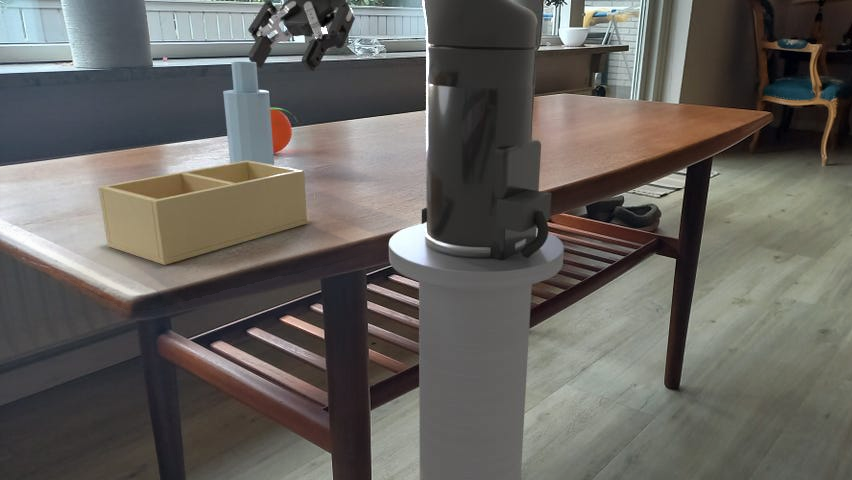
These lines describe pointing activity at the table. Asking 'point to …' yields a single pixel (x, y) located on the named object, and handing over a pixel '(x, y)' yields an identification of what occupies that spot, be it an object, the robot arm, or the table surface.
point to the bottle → (248, 117)
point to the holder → (202, 209)
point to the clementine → (280, 129)
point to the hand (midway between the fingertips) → (280, 65)
